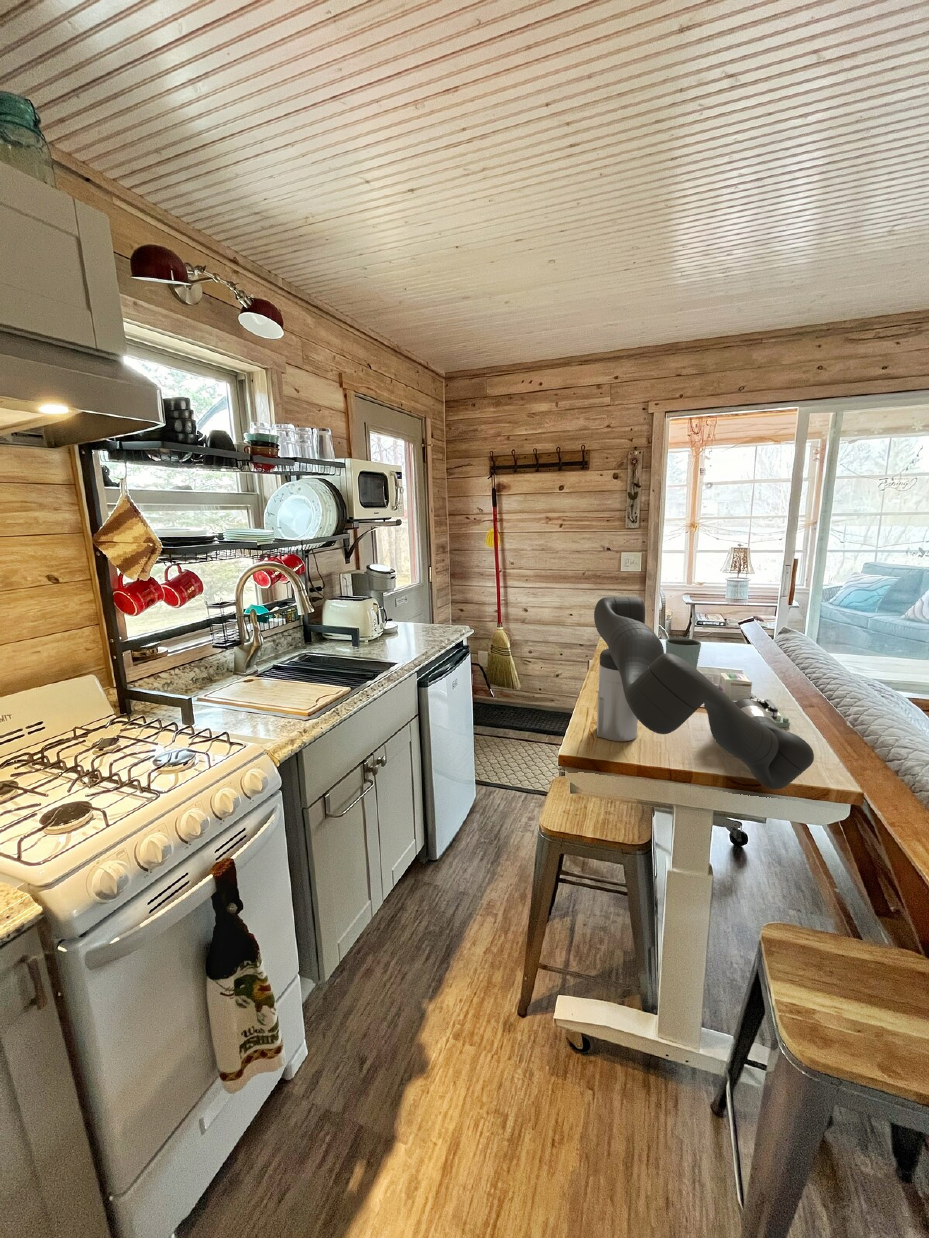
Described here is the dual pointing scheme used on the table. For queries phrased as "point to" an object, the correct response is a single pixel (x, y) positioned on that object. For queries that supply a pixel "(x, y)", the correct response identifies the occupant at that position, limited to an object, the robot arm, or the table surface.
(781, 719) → the baseplate
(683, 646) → the grey-green cup
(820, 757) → the table surface
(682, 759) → the table surface
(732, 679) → the syrup box
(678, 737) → the table surface
